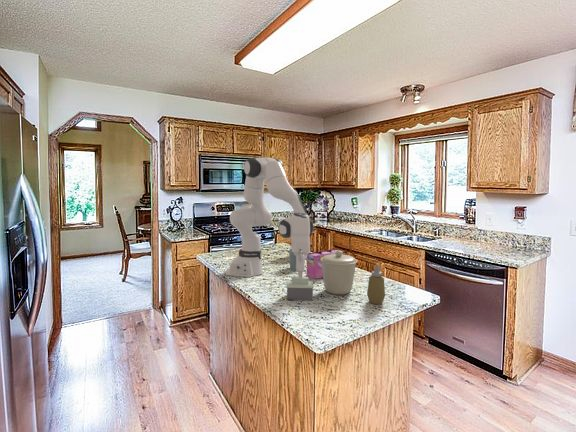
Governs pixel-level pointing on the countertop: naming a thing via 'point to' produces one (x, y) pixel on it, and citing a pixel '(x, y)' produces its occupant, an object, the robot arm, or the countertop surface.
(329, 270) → the canister
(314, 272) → the gum box
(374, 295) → the squeeze bottle
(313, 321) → the countertop surface
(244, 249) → the robot arm
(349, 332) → the countertop surface
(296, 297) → the box
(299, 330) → the countertop surface
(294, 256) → the grey cup
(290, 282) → the lid
